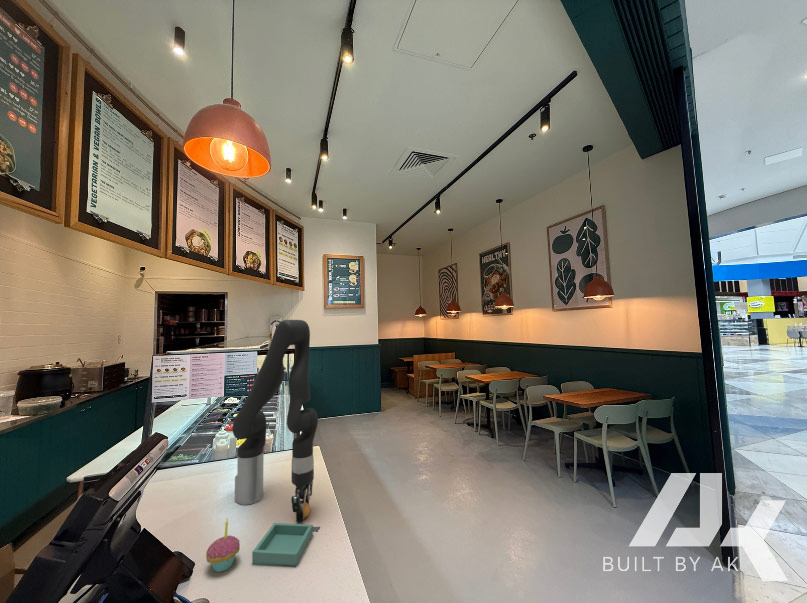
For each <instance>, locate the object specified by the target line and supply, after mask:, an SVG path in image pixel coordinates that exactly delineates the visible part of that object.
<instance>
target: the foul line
mask: <svg viewBox="0 0 807 603" xmlns="http://www.w3.org/2000/svg"><path fill="white" fill-rule="evenodd" d="M320 528H321V527H320V526H313V531H316V532H317V533H318V532H319V531H320ZM318 530H319V531H318ZM316 532H315V533H316Z"/></svg>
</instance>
